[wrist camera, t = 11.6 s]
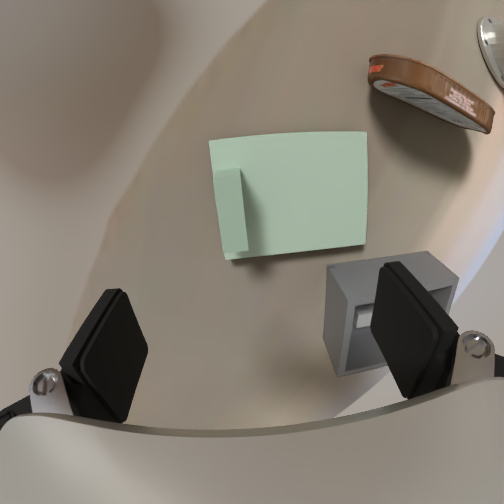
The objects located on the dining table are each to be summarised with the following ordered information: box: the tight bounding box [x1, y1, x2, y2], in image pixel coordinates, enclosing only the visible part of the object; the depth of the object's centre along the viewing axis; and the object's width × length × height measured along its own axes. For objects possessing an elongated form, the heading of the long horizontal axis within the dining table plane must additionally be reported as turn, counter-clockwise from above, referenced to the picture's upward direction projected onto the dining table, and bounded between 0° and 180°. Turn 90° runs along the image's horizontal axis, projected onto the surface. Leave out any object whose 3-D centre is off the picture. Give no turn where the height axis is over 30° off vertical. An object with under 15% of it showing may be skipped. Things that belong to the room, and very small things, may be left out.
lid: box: [209, 131, 368, 260], centre depth 24 cm, size 14×11×7 cm
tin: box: [368, 54, 495, 134], centre depth 19 cm, size 15×3×8 cm, turn 81°
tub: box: [323, 251, 459, 377], centre depth 29 cm, size 14×11×7 cm
